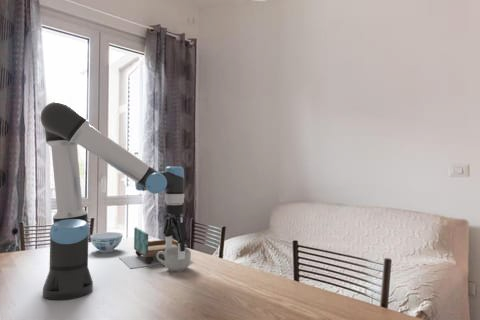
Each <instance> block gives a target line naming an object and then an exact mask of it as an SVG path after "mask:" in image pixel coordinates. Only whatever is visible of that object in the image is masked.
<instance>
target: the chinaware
mask: <svg viewBox="0 0 480 320" xmlns="http://www.w3.org/2000/svg"><path fill="white" fill-rule="evenodd" d="M89 239H90V241H91V244H92V245H93V246H94V248H95V249H97V250H98V251H99V253H111V252H114V251H115V249H116V248H118V246H119V245H120V243H121V242H122V239H123V233H121V232H116V231H115V232H114V231H113V232H112V231H111V232H110V231H109V232H106V231H105V232H98V233H94V234H90V235H89Z"/></svg>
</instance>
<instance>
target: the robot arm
mask: <svg viewBox="0 0 480 320" xmlns="http://www.w3.org/2000/svg"><path fill="white" fill-rule="evenodd" d="M40 122H41V125H42V126H43V128H44V133H45V134H44V135H45V143H46V144H47V145H48V146H49V147H50V150H51V157H52V159H51V160H52V169H53V170H52V171H53V177H54V178H53V180H54V188H55V189H54V192H55V201H56V213H55V214H54V215H53V216H52V220H53V223H52V225H51V226H50V230H49V239H50V240H49V271H48V273H47V276H46V280H45V282H44V284H43V287H42V297H43V298H45V299H47V300H51V301H52V300H53V301H56V300H57V301H65V300H70V299H76V298H80V297H83V296H86V295H88V294H90V293H91V292H92V291H93V289H94V281H93V278H92V275H91V273H90V270H89V266H88V265H89V242H90V241H89V240H90V236H91V228H90V226H89V217H88V216H89V215H88V211H86V210H85V209H84V208H83V197H82V186H81V176H80V175H81V174H80V165H79V163H80V161H79V153H78V152H79V151H78V145H79V146H80V147H82V148H83V149H84V150H85V149H86V150H87V151H88V152H89V153H91V154H92V155H94V156H96V157H97V158H99V159H100V160H101V161H103V162H105V163H107V164H108V165H109V166H111V167H112V168H114V169H115V170H117V171H119V172H120V173H122V174H123V175H124V176H126V177H127V178H128V179H130V180H132V181H133V182H135V189H136V190H137V191H142V192H144V191H148V193H150V194H154V195H155V194H156V195H157V194H160V193H162V192H164V191H165V204H166V205H165V222H164V225H163V226H164V227H163V232H162V233H163V235H164V237H165V240H166V249H169V248H172V239H173V232H174V230H175V233H176V236H177V239H178V240H177V241H178V260H181V259H185V245H186V243H188V242H189V238H188V234H187V227H186V223H185V217H183V216H182V215H181V214H184V213H185V204H184V203H185V197H186V195H185V171H184V170H185V169H184V168H183V166H166V167H165V171H157V170H156V169H154V168H152V167H151V166H150V165H149V164H147V163H146V162H144V161H143V160H141V159H140V158H139V157H137V156H135V154H133V153H131V152H129V151H128V150H127V149H126V148H124V147H122V146H121V145H120V144H118V143H116V142H115V140H112V139H111V138H110V137H108V136H107V135H105V134H103V133H102V132H100V131H99V130H98V129H96V128H95V127H94V126H92V125H91V124H90V121H89V119H87V118H86V117H84V116H83V115H82V114H81V113H79V112H78V111H77V110H76V109H75V108H74V106H72V105H71V104H69V103H67V102H64V101H53V102H51V103H48V104H46V106H44V107H43V108H42V110H41V113H40Z"/></svg>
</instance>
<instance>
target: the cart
mask: <svg viewBox="0 0 480 320" xmlns="http://www.w3.org/2000/svg"><path fill="white" fill-rule="evenodd" d="M133 230H134V232H133V234H134V235H133V236H134V237H133V241H134V242H133V249H134V250H135V255H138V256H141V255H143V256H144V257H146V258H145V261H146V262H147V263H152V261H153V258H152V257H153V256H156V255H157V253H158V252H159V251H163V252H165V250H166V239H160V240H150V241H149V233H148V232H146V231H144V230H143V229H141V228H139V227H137V226H136V227H134V229H133ZM178 241H179V240H176V239H174V238H172V248H174V247H178ZM185 248H188V245H186V244H185ZM160 255H163V254H159V256H160Z"/></svg>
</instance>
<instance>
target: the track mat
mask: <svg viewBox="0 0 480 320" xmlns="http://www.w3.org/2000/svg"><path fill="white" fill-rule="evenodd" d="M145 258H146V257H144V256H143V255H141V256H138V255H136V254H135V255H129V256H128V255H126V256H119V258H118V259H119V260H121V261H122V262H123V263H124V265H126V266H127V267H128V268H129V269H130V270H132V269H138V268H144V267H152V266H158V265H159V266H160V265H163V263H161V262H160V261H158V260H157V257H156V256H153V257H152V258H153V261H152V263H147V262H146V261H145ZM159 258H160V259H161V260H163V261H165V258H164V255H160V256H159Z"/></svg>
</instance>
